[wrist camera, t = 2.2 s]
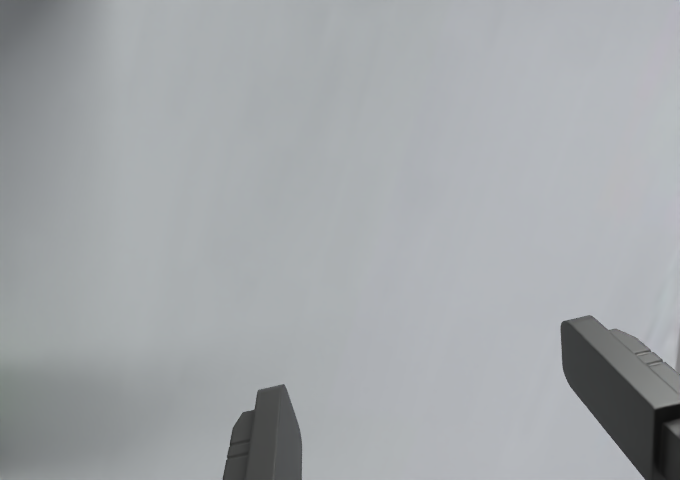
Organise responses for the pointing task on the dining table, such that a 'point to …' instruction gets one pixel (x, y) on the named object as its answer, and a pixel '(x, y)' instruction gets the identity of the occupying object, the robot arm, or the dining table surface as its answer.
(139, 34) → the dining table surface
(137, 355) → the dining table surface
